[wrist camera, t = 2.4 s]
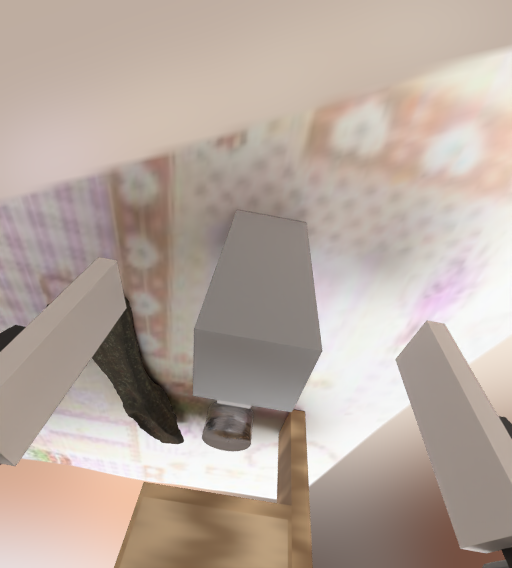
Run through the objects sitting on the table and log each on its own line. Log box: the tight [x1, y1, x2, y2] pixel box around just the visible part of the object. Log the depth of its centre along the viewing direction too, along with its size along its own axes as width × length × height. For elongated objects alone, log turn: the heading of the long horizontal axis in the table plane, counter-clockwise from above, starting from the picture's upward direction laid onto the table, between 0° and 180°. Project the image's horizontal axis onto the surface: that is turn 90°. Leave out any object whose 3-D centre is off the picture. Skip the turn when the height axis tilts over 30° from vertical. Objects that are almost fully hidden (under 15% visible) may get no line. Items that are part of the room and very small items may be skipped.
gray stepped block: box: [193, 210, 322, 412], centre depth 17 cm, size 4×17×9 cm, turn 171°
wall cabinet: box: [114, 410, 313, 568], centre depth 21 cm, size 14×7×22 cm, turn 81°
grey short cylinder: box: [202, 402, 254, 451], centre depth 29 cm, size 5×5×3 cm
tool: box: [47, 297, 184, 444], centre depth 26 cm, size 21×8×3 cm, turn 14°
